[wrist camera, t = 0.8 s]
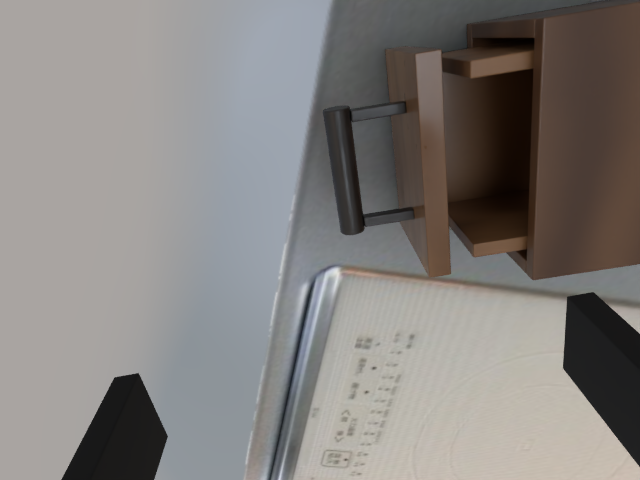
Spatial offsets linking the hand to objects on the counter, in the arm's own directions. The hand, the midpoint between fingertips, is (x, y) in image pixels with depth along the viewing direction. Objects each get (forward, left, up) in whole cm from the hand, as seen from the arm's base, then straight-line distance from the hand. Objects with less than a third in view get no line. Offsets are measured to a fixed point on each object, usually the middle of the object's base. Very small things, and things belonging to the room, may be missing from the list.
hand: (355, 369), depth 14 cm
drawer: (-2, +9, -18) cm, 21 cm away
